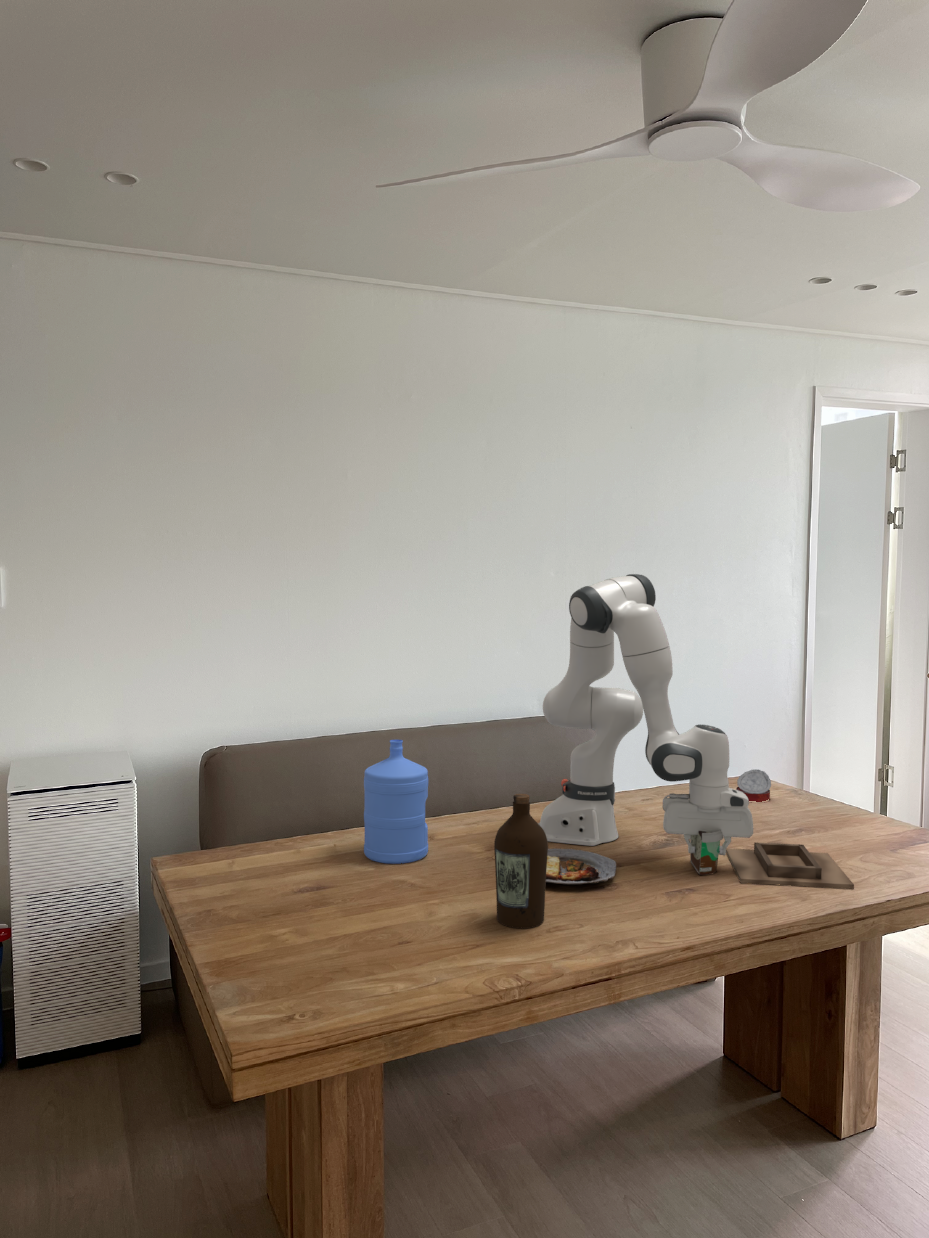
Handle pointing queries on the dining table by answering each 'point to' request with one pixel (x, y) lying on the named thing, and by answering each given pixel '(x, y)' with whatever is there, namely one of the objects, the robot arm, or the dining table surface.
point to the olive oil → (520, 868)
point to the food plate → (578, 867)
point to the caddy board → (787, 866)
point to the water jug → (395, 809)
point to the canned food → (755, 785)
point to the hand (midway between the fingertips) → (706, 853)
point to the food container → (706, 851)
